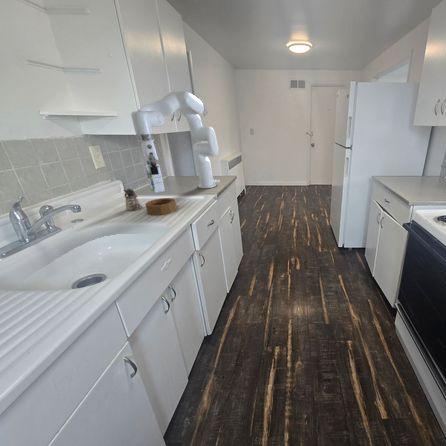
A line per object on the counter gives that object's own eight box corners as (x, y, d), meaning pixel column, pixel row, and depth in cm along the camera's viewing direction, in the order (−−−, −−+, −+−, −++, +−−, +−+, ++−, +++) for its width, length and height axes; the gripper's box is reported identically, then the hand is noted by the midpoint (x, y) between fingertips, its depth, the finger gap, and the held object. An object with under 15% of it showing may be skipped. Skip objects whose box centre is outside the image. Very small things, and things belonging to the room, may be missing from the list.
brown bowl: (172, 204, 153) (171, 196, 151) (179, 210, 142) (178, 202, 140) (145, 209, 144) (143, 201, 142) (151, 217, 134) (148, 208, 132)
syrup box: (150, 191, 139) (144, 164, 133) (162, 189, 142) (156, 163, 137) (154, 193, 135) (147, 165, 129) (165, 191, 139) (159, 164, 133)
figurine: (143, 208, 147) (138, 188, 142) (130, 211, 142) (124, 191, 137) (137, 205, 151) (132, 186, 146) (124, 209, 145) (118, 189, 141)
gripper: (157, 138, 124) (165, 175, 131) (150, 136, 136) (157, 170, 143) (140, 139, 119) (149, 177, 127) (134, 137, 132) (143, 171, 139)
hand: (153, 173), depth 135 cm, fingers closed on syrup box, 6 cm apart
